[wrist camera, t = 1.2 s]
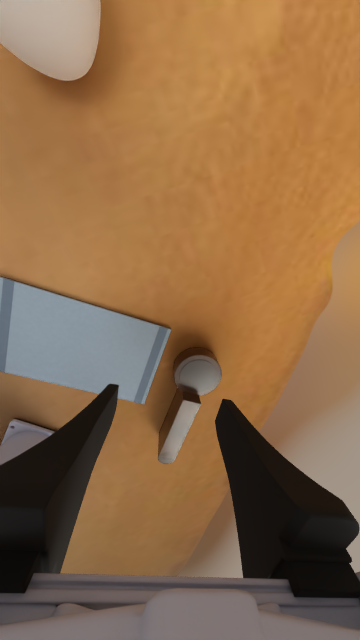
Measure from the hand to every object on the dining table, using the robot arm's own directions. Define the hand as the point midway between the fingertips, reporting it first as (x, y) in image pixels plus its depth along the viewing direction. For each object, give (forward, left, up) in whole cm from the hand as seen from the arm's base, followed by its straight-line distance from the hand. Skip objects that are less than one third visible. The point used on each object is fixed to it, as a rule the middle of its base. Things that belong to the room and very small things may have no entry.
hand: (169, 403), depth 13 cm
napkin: (-5, +8, -10) cm, 14 cm away
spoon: (-6, -6, -10) cm, 13 cm away
